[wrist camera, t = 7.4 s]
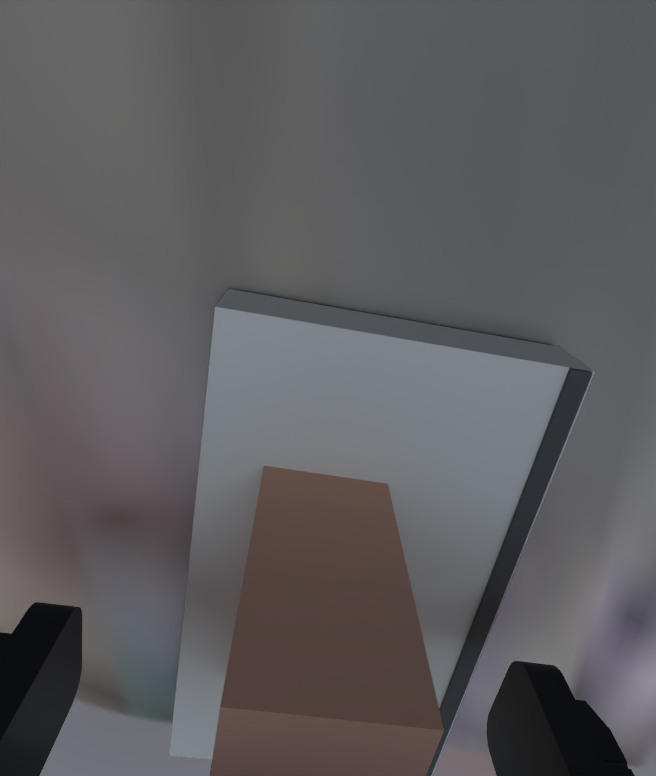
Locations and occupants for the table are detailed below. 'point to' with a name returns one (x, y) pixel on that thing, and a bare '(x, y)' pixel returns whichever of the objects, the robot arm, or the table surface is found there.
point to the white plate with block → (355, 531)
